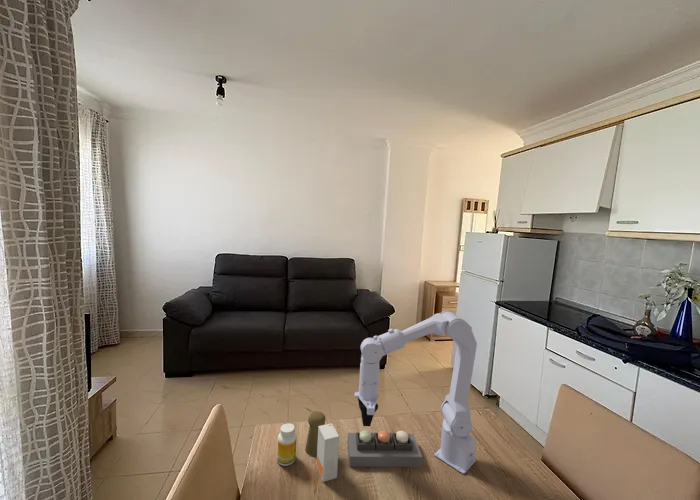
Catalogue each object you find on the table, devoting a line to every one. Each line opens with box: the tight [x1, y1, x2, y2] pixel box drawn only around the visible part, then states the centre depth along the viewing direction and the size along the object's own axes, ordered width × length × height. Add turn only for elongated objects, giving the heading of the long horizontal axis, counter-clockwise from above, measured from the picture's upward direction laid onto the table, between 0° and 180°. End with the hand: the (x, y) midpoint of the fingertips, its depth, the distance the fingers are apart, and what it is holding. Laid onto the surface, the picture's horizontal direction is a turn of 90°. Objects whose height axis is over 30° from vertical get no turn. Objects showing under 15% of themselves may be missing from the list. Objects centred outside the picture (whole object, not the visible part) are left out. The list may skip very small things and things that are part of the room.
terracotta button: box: [377, 430, 390, 444], centre depth 91 cm, size 4×4×2 cm
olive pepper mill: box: [304, 410, 326, 457], centre depth 91 cm, size 6×6×11 cm
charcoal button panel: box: [346, 432, 423, 468], centre depth 91 cm, size 21×10×5 cm, turn 94°
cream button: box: [395, 430, 409, 444], centre depth 91 cm, size 4×4×2 cm
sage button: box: [359, 429, 372, 443], centre depth 90 cm, size 4×4×2 cm
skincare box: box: [315, 422, 340, 483], centre depth 82 cm, size 6×4×12 cm
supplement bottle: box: [276, 422, 298, 467], centre depth 86 cm, size 5×5×10 cm
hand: (366, 423), depth 90 cm, fingers closed
